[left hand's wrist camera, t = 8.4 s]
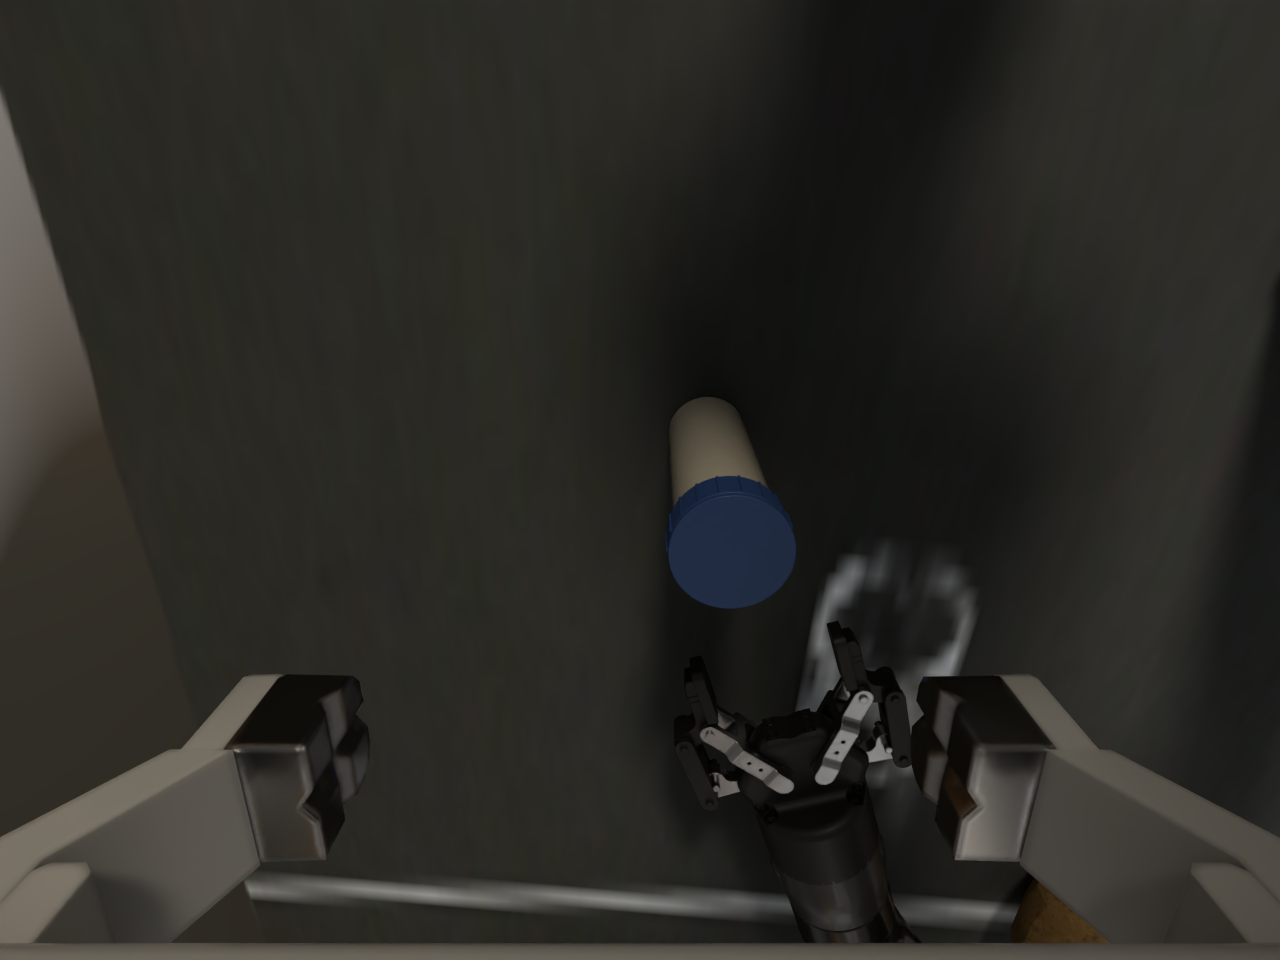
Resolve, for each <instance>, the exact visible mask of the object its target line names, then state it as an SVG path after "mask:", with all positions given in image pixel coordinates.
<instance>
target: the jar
mask: <svg viewBox="0 0 1280 960" xmlns="http://www.w3.org/2000/svg"><path fill="white" fill-rule="evenodd" d="M668 439H669V456H670V473H671V489H672V506H673V508H674V506H675V504H676V503H677V501H678V500H679V499H678V498H679V497H682V495H683V494H684V493H686V492H687V491H688V490H689V489H690V488H692V487H693V486H695V484H696V483H697V484H698V483H701V482H703V481H705V480H708V479H711V478H715V477H716V476H718V477H720V476H738V475H740V477H745V478H748V479H752V480H754V481H756V482H759V481H760V482H761V484H762V485H764V486H765V487H767V488H768V486H767V483H766V480H765V478H764V475H763V472H762V470H761V467H760V464H759V462H758V459H757V457H756V454H755V451H754V449H753V446H752V443H751V441H750V438H749V435H748V433H747V430H746V427H745V425H744V422H743V419H742V417H741V415H740V414H739V412H738V411H737V410H736V409H735V408H734V407H733V406H732V405H731V404H730V403H728V402H726V401H724V400H722V399H719V398H714V397H701V398H696V399H694V400H691V401H689V402H687V403H686V404H684V405H683V406H682V407H680V408H679V409H678V411H677V412H676V413H675V414H674V416H673V418H672V420H671V422H670V425H669V430H668ZM768 489H769V488H768Z"/></svg>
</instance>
